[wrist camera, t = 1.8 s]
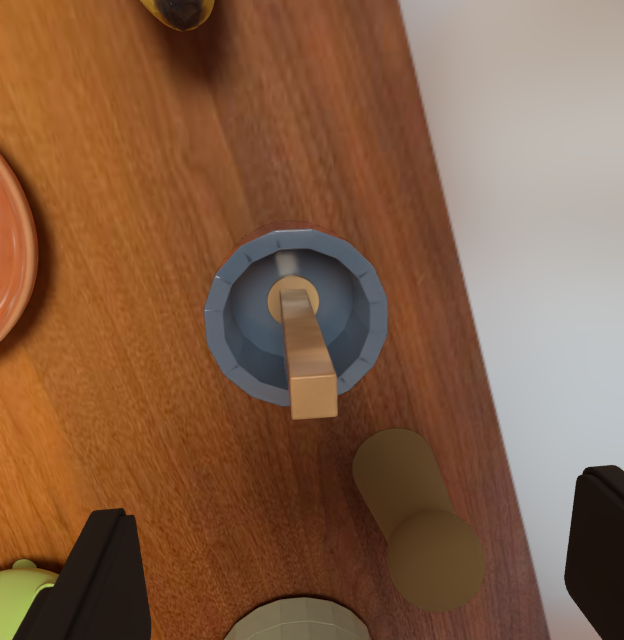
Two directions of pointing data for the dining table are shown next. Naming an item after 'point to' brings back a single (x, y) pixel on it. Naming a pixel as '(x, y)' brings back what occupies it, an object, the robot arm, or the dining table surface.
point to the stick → (304, 348)
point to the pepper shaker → (418, 521)
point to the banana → (180, 12)
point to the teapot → (20, 593)
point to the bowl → (300, 622)
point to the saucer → (15, 250)
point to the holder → (266, 333)
